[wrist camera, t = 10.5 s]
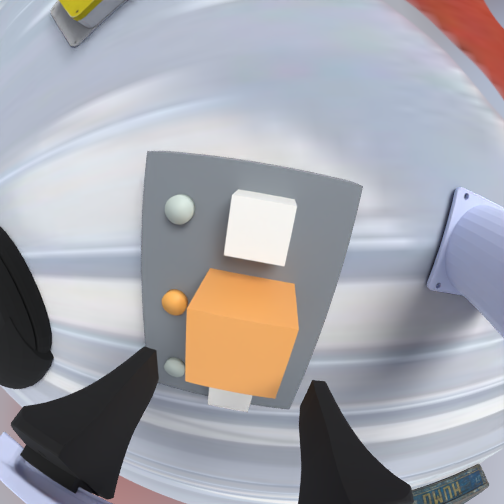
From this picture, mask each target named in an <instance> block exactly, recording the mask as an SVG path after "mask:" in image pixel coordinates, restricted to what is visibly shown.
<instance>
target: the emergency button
mask: <svg viewBox="0 0 504 504" xmlns="http://www.w3.org/2000/svg"><path fill="white" fill-rule="evenodd" d="M126 1H127V0H58V1H57V2H56V3H55V4H54V6H53V7H52V9H51V15H52V16H53V18H54V20H55V21H56V23H57V25H58V26H59V28H60V30H61V31H62V33H63V35H64V36H65V38H66V39H67V41H68V43H69V44H70V45H71V46H73V47H75V46H78V45H79V44H81V43H82V42H83V41H84V40H85V39H86V38H87V37H88V36H89V35H90V34H91V33H92V32H93V31H94V30H95V29H96V28H97V27H98V26H99V25H100V24H101V23H102V22H103V21H104V20H105V19H106V18H107V17H109V16H110V15H111V14H112V13H113V12H114V11H115V10H116V9H118V8H119V7H120V6H121V5H122V4H124V3H125V2H126Z"/></svg>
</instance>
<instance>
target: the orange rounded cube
mask: <svg viewBox="0 0 504 504" xmlns="http://www.w3.org/2000/svg"><path fill="white" fill-rule="evenodd" d="M298 331H299V326H298V314H297V303H296V293H295V284H293V283H288V282H282V281H276V280H271V279H265V278H260V277H254V276H249V275H244V274H238V273H233V272H228V271H223V270H217V269H212V268H210V269H209V271H208V272H207V274H206V276H205V278H204V279H203V281H202V283H201V285H200V286H199V288H198V290H197V292H196V293H195V295H194V297H193V299H192V300H191V302H190V304H189V306H188V307H187V319H186V357H185V381H186V382H190V383H194V384H198V385H202V386H207V387H211V388H216V389H221V390H225V391H231V392H236V393H241V394H247V395H253V396H259V397H266V398H273V399H275V398H276V395H277V392H278V390H279V387H280V384H281V381H282V378H283V376H284V373H285V370H286V367H287V364H288V361H289V358H290V355H291V352H292V349H293V346H294V343H295V340H296V337H297V334H298Z"/></svg>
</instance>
